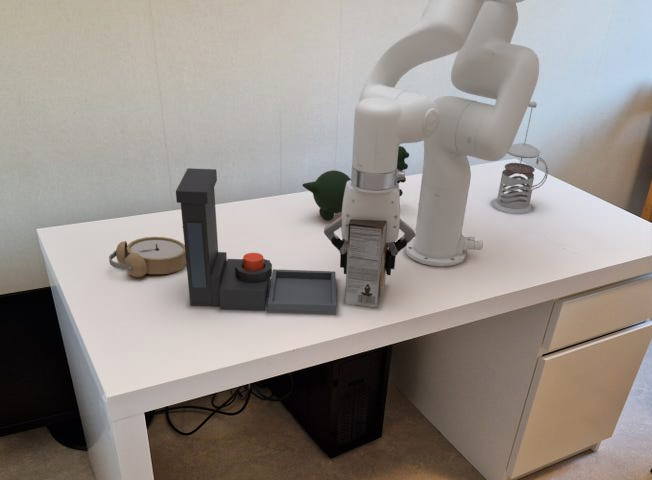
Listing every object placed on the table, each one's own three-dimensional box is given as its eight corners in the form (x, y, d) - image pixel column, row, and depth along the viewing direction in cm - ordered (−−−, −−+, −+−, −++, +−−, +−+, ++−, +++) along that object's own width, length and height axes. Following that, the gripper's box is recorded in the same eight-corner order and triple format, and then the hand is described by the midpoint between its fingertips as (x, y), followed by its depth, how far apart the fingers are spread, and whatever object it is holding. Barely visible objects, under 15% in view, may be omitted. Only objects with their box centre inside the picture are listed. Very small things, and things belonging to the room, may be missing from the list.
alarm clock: (197, 254, 129) (121, 259, 120) (195, 277, 131) (120, 283, 122) (173, 233, 136) (100, 236, 127) (171, 256, 139) (99, 260, 130)
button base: (274, 279, 128) (273, 251, 125) (269, 311, 118) (269, 281, 115) (228, 278, 128) (227, 249, 124) (220, 309, 118) (218, 280, 114)
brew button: (264, 263, 121) (264, 252, 120) (262, 272, 118) (262, 261, 117) (244, 262, 121) (244, 252, 120) (242, 271, 118) (242, 261, 117)
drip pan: (335, 280, 129) (335, 271, 128) (335, 315, 118) (336, 305, 117) (272, 278, 128) (272, 269, 127) (267, 313, 118) (267, 303, 117)
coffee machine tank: (228, 279, 127) (222, 169, 115) (220, 308, 118) (213, 192, 106) (197, 278, 127) (187, 168, 115) (187, 307, 118) (175, 190, 106)
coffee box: (352, 281, 129) (357, 202, 120) (385, 285, 128) (392, 206, 119) (343, 304, 121) (348, 222, 112) (378, 309, 120) (385, 226, 111)
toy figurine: (385, 209, 164) (291, 212, 154) (399, 131, 154) (299, 129, 144) (404, 224, 157) (306, 228, 147) (419, 143, 147) (315, 142, 137)
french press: (490, 197, 170) (509, 94, 155) (536, 201, 169) (560, 98, 154) (493, 211, 162) (513, 105, 147) (541, 216, 161) (566, 109, 146)
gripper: (422, 171, 115) (411, 263, 125) (322, 168, 114) (319, 260, 125) (427, 187, 109) (416, 282, 119) (321, 183, 108) (319, 279, 118)
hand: (366, 270), depth 122 cm, fingers closed on coffee box, 7 cm apart
